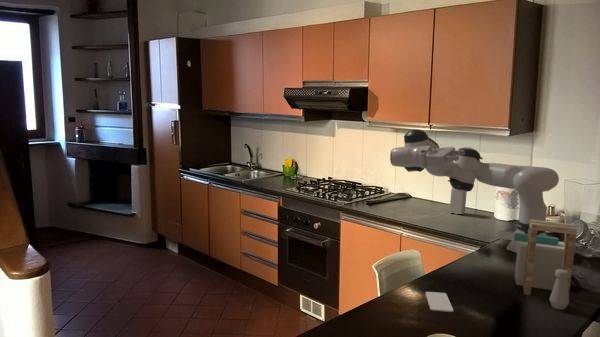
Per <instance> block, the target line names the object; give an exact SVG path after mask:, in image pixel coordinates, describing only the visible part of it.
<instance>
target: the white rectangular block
mask: <svg viewBox="0 0 600 337" xmlns="http://www.w3.org/2000/svg"><path fill="white" fill-rule="evenodd" d="M527 243H528V242H524V241H518V249H517V253H516V260H515V270H514V278H515V279H514V280H515V284H516V286H522V287H523V280H524V270H525V261H526V252H527ZM564 245H565V241H559V242H558V246H557V245H549V244H541V243H536V249H535V258H534V267H533V276H532V285H531V288H535V289H541V288H542V289H543V290H548V291H552V290H553V287H554V284H555V281H556V278H557V277H556V276H555V271H556V270H557V269H562V262H563V253H564Z"/></svg>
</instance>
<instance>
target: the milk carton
mask: <svg viewBox="0 0 600 337" xmlns="http://www.w3.org/2000/svg"><path fill="white" fill-rule="evenodd" d="M449 202H450V203H449V212H452V213H458V214H462V213H464V212H465V213H466V207H467V205H466V203H467V192H459V191H457V190H456V189H454V188H453V187H452V186H451V189H450V199H449Z"/></svg>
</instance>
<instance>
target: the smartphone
mask: <svg viewBox="0 0 600 337" xmlns="http://www.w3.org/2000/svg"><path fill="white" fill-rule="evenodd" d="M425 296H426V299H427V302H428V306H429V309H430V310H431V311H433V312H434V311H435V312H447V313H453V312H454V308H453V306H452V304H451V302H450V299H449V297H448V294H447V293H446V292H435V291H425Z"/></svg>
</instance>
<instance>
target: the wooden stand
mask: <svg viewBox="0 0 600 337" xmlns="http://www.w3.org/2000/svg"><path fill="white" fill-rule="evenodd" d="M538 230H540V231H546V232H550V233H559V234H565V237H564V242H565V245H564V253H563V262H562V269H563V270H566V271H568V272H569V273H570V276H569V278H568V279H567V283H568V295H569V296H570V289H571V280H572V275H573V274H572V272H573V265H574V257H575V247H576V241H577V231H578V228H577V226H576V225H575V224H574V223H566V222H558V221H548V220H546V221H540V220H531V219H530V224H529V233H528V243H527V252H526V261H525V270H524V280H523V286H522V290H523V296H525V295H527V296H531V291H532V287H531V285H532V276H533V267H534V258H535V249H536V240H537V231H538Z"/></svg>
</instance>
